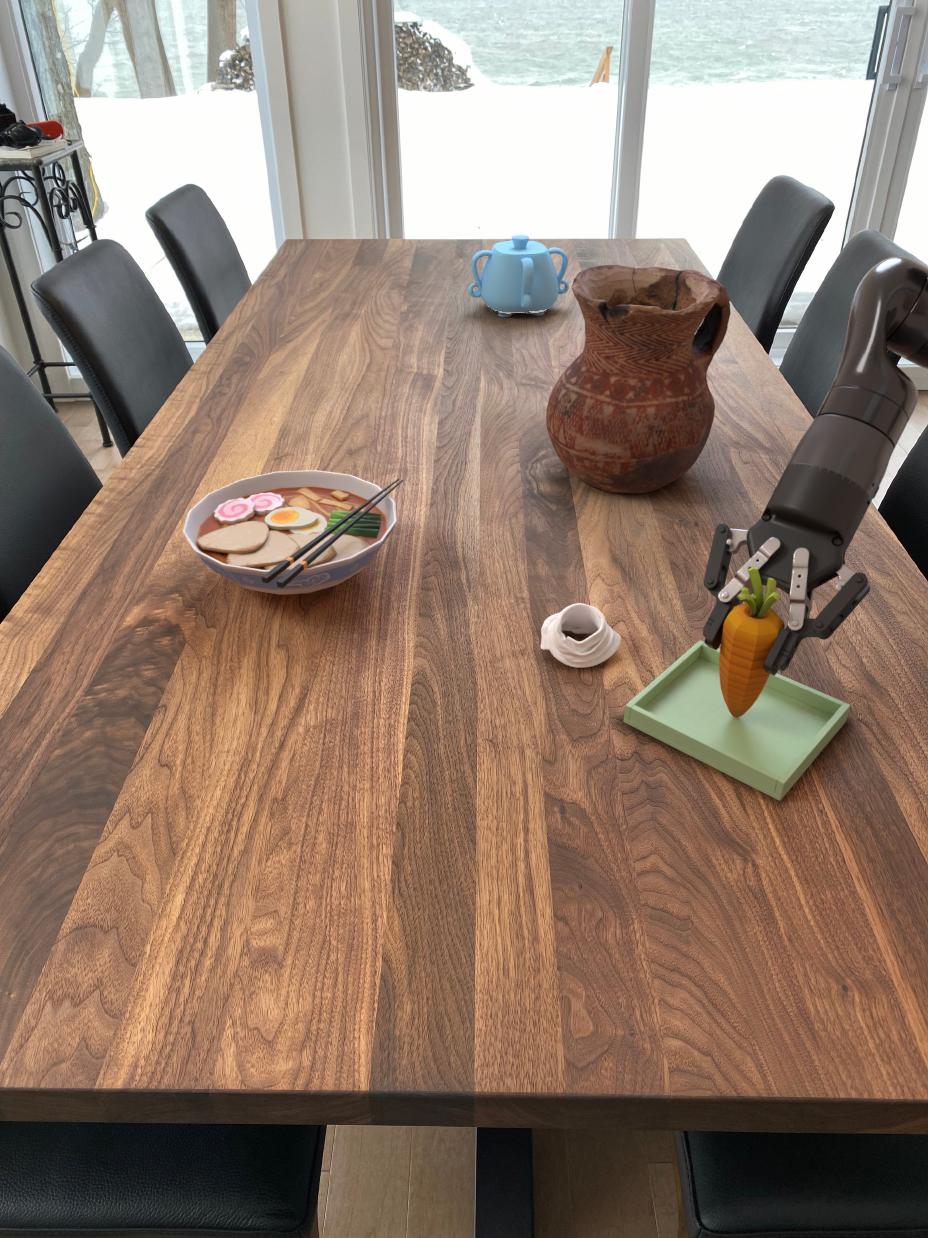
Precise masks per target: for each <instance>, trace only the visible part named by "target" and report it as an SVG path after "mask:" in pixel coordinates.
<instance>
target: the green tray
mask: <svg viewBox="0 0 928 1238" xmlns="http://www.w3.org/2000/svg"><path fill="white" fill-rule="evenodd" d="M719 656H720V647H719V648H718V649H717V650H714V649H712V648H709V647H708V646H707V645H706V644H705V643H704V641H703V640H701V639H699V640H698V641H697V642H696V643H695V644H693V645H692V646H691V647H690V648H689V649H688V650H687V651H685V652H684V653H683V654H682V655H681V656H680V657H679V658H678V659H676V660H675V661H674V662H673V663H672V664H670V665H669V666H668V667H667V668H666V669H665V670H664V671H662V672H661V673H660V674H659V675H658V676H657V677H656V678H655V679H653V680H652V681H651V682H650V683H649V684H647V686H645V688H643V689H642V690H641V691H639V692H638V693H637V694H636V695H635V696H634V697H632V699H631V700H630V701H628V702H627V703H626V704H625V707H624V714H623V721H622V722H623V723H624V724H626V725H628V726H631V727H633V728H635V729H636V730H638V731H640V732H642V733H644V734H646V735H648V736H650V737H652V738H654V739H656V740H658V741H660V742H662V743H664V744H665V745H667V746H670V747H672V748H674V749H676V750H678V751H679V752H681V753H684V754H685V755H688V756H690V757H692V758H694V759H696V760H698V761H700V762H701V763H704V764H705V765H707V766H710V767H711V768H714V769H716V770H718V771H719V772H721V773H724V774H725V775H727V776H728V777H732V778H734V779H736V780H737V781H739V782H741V783H742V784H745V785H747V786H749V787H751V788H753V789H755V790H757V791H759V792H761V793H763V794H765V795H767V796H769V797H771V798H773V799H775V800H777V801H779V802H781V801H782V799H784V797H785V796H786V795H787V793H788V792H789V791H790V789H792V787H793V786H794V785H795V784H796V783H797V781H798V780H800V778H801V777H802V775H803V774H804V773H805V772H806V770H807V769H808V768H809V767H810V765H812V764H813V762H814V761H815V760H816V758H817V757H818V756H819V755H820V753H821V752H823V750H824V749H825V747H826V746H828V744H829V743H830V741H831V740H832V739H833V738H834V737H835V736H836V734H837V733H838V732H839V731H840V730H841V728H843V726H844V725H845V724H846V723H847V719H848V716H849V712H850V709H851V704H849V703H847V702H844V701H843V700H840V699H838V698H835V697H834V696H831V695H828V694H826V693H824V692H821V691H819V690H817V689H815V688H813V687H811V686H808V685H805V684H803V683H801V682H799V681H796V680H794V679H791V678H789V677H787V676H785V675H782V674H779V673H778V672H777V673H776V675H775V676H773V675H771V674H770V676H769V678H768V680H767V682H766V684H765V686H764V688H763V690H762V692H761V693H760V695H759V697H758V699H757V700H756V701H755V703H754V704H753V705H752V707H751V708H750V709H749V710H748V711H747V712H746V713H745V714H743V715H742V716H740V717H736V718H735V717H734V716H732V715H731V713H730V712H729V710H728V707H727V705H726V703H725V701H724V698H723V694H722V690H721V686H720V674H719Z"/></svg>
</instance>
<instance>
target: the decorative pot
mask: <svg viewBox="0 0 928 1238" xmlns="http://www.w3.org/2000/svg"><path fill="white" fill-rule="evenodd" d="M552 254H557V255H560V256H561V258H562V263H561V267H560V269H559V272H558V274H557V270H556V267H555V264H554V261H553V258H552ZM483 257H487V258H486V261H485V263H484V265H483V268H482V272H481V275H480V274H479V271H478V266H477V265H478V264H477V263H478V260H479V259H480V258H483ZM568 265H569V257H568V254H567V253H566V252H565V251H564V250H563V249H562V248H560V247H556V246H555V247H553V246H552V247H549V248H547V246H546V245H544V244H543V243H541V242H539V241H535V240H530V237H529V236H528V235H526V234H515V235H513V236H511V239H510V240H505V241H499V242H496V243H495V244H493V246H492V248H491V249H490V250H489V249H481V250H479V251H476V253H474V254H473V256H472V257H471V259H470V269H471V272H472V275H473V276H472V277H473V279H474V281H475V282H472V283H471V284H470V285H469V286H468V294H469V296H470V297H472V298H476V299H477V298H481V299H482V301H483V302H484V304H485V306H486V307H487V306H489V307H490V308H492V309H494V310H497V311H502V312H529V311H539V310H545V309H549V308H550V309H551V308H552V307H553V306H554V305H555V303H556V301H557V299H558V297H559V295H564V294H566V293H567V292H568V291H569V287H570V284H569V282H568V280H566V279H563V278H564V276H565V274H566V272H567V270H568ZM561 285H564V286H563V287H562V288H561ZM474 288H477V290H476V291H474ZM489 307H488V308H489ZM490 308H489V309H490ZM492 309H491V310H492ZM550 309H549V310H550ZM497 313H498V314H497V316H498V317H501V318H508V317H512V315H513V314H506V313H499V312H497ZM530 314H531V315H532V316H543V315H545V312H539V313H530Z"/></svg>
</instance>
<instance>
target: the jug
mask: <svg viewBox="0 0 928 1238" xmlns="http://www.w3.org/2000/svg"><path fill="white" fill-rule="evenodd" d="M571 291H572V293H573V296H574V297H575V299H576V301H577V303H578V306H579V308H580V311H581V314H582V318H583V321H584V346H583V350H582V352H581V353H580V354H579V355H578V356H577V357H575V359H574V360H573V361H572V362H571V363H570V364H569V365H568V366H567V368H566V369H565V370H564V371H563V372H562V374H561V375H560V376H559V377H558V378H557V381H556V382H555V384H554V386H553V388H552V389H551V392H550V395H549V396H548V400H547V401H548V402H547V406H546V413H545V414H546V415H545V426H546V431H547V434H548V436H549V440H550V442H551V445H552V447H553V449H554V451H555V454H556V456H557V457H558V459H559V460H560V462H561V463H563V465H564V466H565V467H566V469H567V470H568V471H569V472H571V474H572V475H574V476H575V477H577V478H578V479H580V480H581V481H582V482H585V483H586V484H588V485H590V486H592V487H594V488H597V489H598V490H601V491H604V492H608V493H614V494H628V495H631V494H647V493H651V492H654V491H657V490H658V489H662V488H664V487H666V486H667V485H669V484H670V483H672V482H674V481H676V480H678V479H680V478H681V477H682V476H684V475H685V474H686V473H687V472H688V471H689V470H691V468H692V467H693V466H694V465H695V464H696V463H697V460H698V459H699V457H700V455H701V453H702V452H703V450H704V448H705V446H706V444H707V442H708V440H709V435H710V433H711V431H712V427H713V424H714V423H713V422H714V420H715V419H714V418H715V411H716V405H715V404H716V403H715V399H714V397H713V394H712V392H711V390H710V388H709V383H708V378H707V377H708V370H709V367H710V366H711V363H712V361H713V359H714V358H715V357H714V356H715V354H716V353H717V352H718V350H719V349H720V347H721V345H722V344H723V342H724V339H725V337H726V334H727V332H728V327H729V321H730V319H731V318H730V317H731V303H730V302H731V299H730V296H729V293H728V290H727V288H726V286H724V285H723V284H722V283H720V282H719V281H718V280H716V279H714V278H712V277H709V276H707V275H705V274H704V273H702V272H701V271H699V270H696V269H682V270H681V269H680V270H679V269H672V268H667V267H661V266H650V267H637V268H635V267H634V266H627V265H621V264H605V265H597V266H591V267H588V268H585V269H583V270H581V271H578V273H577V274H576V275H575V277H574V278H573V281H572V284H571Z"/></svg>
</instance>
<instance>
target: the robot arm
mask: <svg viewBox="0 0 928 1238" xmlns="http://www.w3.org/2000/svg"><path fill="white" fill-rule="evenodd" d="M841 351H842V352H841V354H840V359H839V364H838V367H837V370H836V373H835V376H834V379H833V381H832V383H831V386H830V388H829V389H828V392H827V393H826V395H825V397H824V399H823V401H822V403H821V405H820V407H819V409H818V411H817V413H816V415H815V417H814V419H813V420H812V422H811V424H810V426H809V427H808V428H807V430H806V431H805V433H804V434H803V436H802V437H801V438H800V440H799V442H798V444H797V445H796V447H795V449H794V451H793V453H792V455H791V457H790V459H789V461H788V463H787V465H786V467H785V469H784V471H783V473H782V475H781V477H780V479H779V480H778V482H777V484H776V486H775V489H774V490H773V492H772V494H771V496H770V498H769V500H768V502H767V504H766V506H765V508H764V510H763V512H762V514H761V517H760V519H759V520H758V521H757V522H756V523H755V524H753V525H751V526H750V527H749V528H748V529H738V528H730V526H729V525H728V524H726V523H719V524H718V525H716V527H715V529H714V533H713V537H712V542H711V545H710V551H709V554H708V558H707V563H706V568H705V571H704V577H703V581H702V584H703V586H704V587H705V588H706V589H707V591H708V592H709V593H710V594H711V595H712V596H713V597H714V598H715V604H714V606H713V609H712V610H711V612H710V614H709V616H708V619H707V620H706V622H705V624H704V626H703V628H702V636H703V637H704V641H703V642H704V643H705V644H706V645H707V646H708V647H709V648H712V649H714V650H717V649H718V648H719V649H720V647H721V639H722V632H723V625H724V622H725V619H726V618H727V616H728V615H729V613H730V612H731V610H732V609H733V607H735V606H737V605H742V604H743V603H744V601H741V600H740V599H739V595H740V594H743V592H742V590H741V589H742V588H743V587H745V588H748V589H749V591H750V593H751V595H753V594H754V591H753V587H752V583H751V580H750V576H749V572H748V569H750V568H752V567H755V568H757V569H758V572H759V575H760V578H761V583H762V587H763V586H765V587H766V586H767V580H768V578H773V579H774V580H775V581H776V589H780V590H781V591H782V592H784V593H785V594H787V595H789V608H788V609H789V610H788V616H787V617H788V618H787V624H786V627H784V628H782V629H781V631H780V633H779V635H778V637H777V639H776V641H775V643H774V645H773V647H772V648H771V650H770V652H769V654H768V656H767V658H766V660H765V662H764V665H763V669H764V670H765V672H766V673H769V674H771V675H773V676H775V675H776V673H778V671H780V672H782V673H783V672H784V671H785V670H786V669H788V668H789V665H790V664H791V662H792V659H793V657H794V656H795V654H796V652H797V650H798V647H799V646H800V644H801V642H802V641H803V640H804V639H806V638H818V639H819V640H822V641H823V640H828V639H830V637H831V636H832V635H833V634H834V633H835V632H836V630H838V629H839V628H840V626H841V625H842V624H843V623H844V622H845V620H846V619H847V618H848V617H849V616H850V615H851V614H852V613H853V611H854V610H855V609H856V608H857V607H858V605H859V604H860V603H861V602H862V601H863V600H864V599H865V598H866V596H867V595H868V594H869V593H870V591H871V586H870V585H871V584H870V581H869V579H868V576H867V575H866V574H865V573H864V572H861V571H860V572H857V571H855V570H854V569H852V568H851V567H849V566H848V565H846V559H845V557H846V552H847V551H848V549H849V546H850V545H851V542H852V540H853V538H854V536H855V535H856V533H857V531H858V529H859V527H860V525H861V523H862V521H863V519H864V517H865V515H866V513H867V511H868V509H869V507H870V505H871V503H872V501H873V500H874V499H875V498H876V496H877V494H878V492H879V490H880V485H881V484H882V481H883V479H884V477H885V475H886V472H887V470H888V467H889V462H890V461H891V457H892V455H893V453H894V450H895V449H896V446H897V445H898V442H899V441H900V439H901V437H902V435H903V433H904V430H905V429H906V427H907V425H908V423H909V422H910V419H911V417H912V416H913V413H914V412H915V410H916V407H917V404H918V400H919V390H918V387H917V386H916V384H915V382H914V381H913V379H912V378H911V377H910V376H909V375H907V374H906V373H905V372H904V371H903V370H902V369H901V368H900V367H899V366H898V365H897V364H896V363H895V361H893V359H892V358H891V356H890V355H889V352H888V351H890V352H892V353H893V354H896V355H898V356H899V357H901V358H903V359H905V360H907V361H909V363H912V364H914V365H916V366H918V367H920V368H922V369H926V370H928V267H927V266H926V265H923V264H921V263H919V262H917V261H915V260H913V259H911V258H910V257H909V258H908V257H905V256H899V255H898V256H891V257H888V258H885V259H883V260H881V261H880V262H878V263H877V264H875V265H874V266H872V267H871V268H870V269H869V270H868V271H867V272H866V273H865V275H864V276H863V278H862V279H861V281H860V282H859V284H858V286H857V287H856V290H855V292H854V295H853V298H852V301H851V305H850V309H849V312H848V318H847V323H846V331H845V336H844V342H843V347H842V350H841ZM744 545H746V546H747V552H748V556H749V559H748V560H747V561H746V562H745V563H744V564H743V565H742V566H741V567H740V568H739V569H738V570H737V571H736V572H735V575H734V577H733V578H732V579H731V580H730V581H729V582H728V583H727V584H726V582H727V577H728V573H729V570H730V565H731V561H732V556H734V555H737V554H738V553H739V552H740V550H741V548H742V547H743V546H744ZM837 577H838V580H837V583H836V585H835V588H836V591H837V593H835V594H834V596H833V598H831V600H830V601H829V602H828V603H827V604H826V605H825V607H823V609H822V610H821V611H820V612H819V613H818V614H817V615H816V617H815V618H810V615H811V612H812V609H813V608H812V607H813V600H814V599H813V598H814V591H815V589H817V588H819V587H821V586H823V585H824V584H826V583H828V582H830V581H832V580H834V579H836V578H837Z"/></svg>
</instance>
